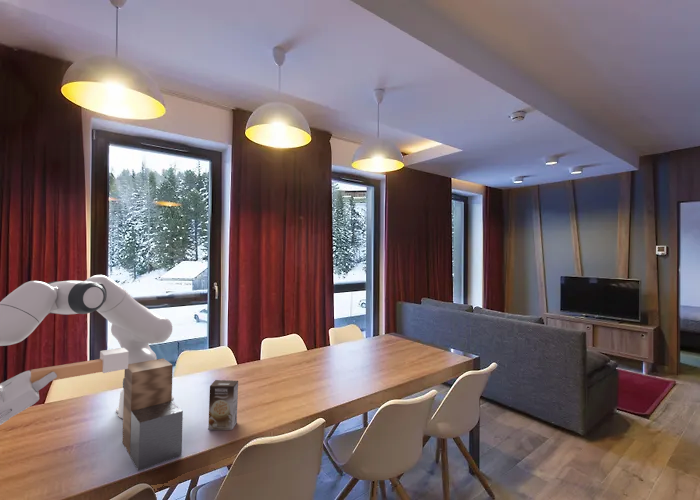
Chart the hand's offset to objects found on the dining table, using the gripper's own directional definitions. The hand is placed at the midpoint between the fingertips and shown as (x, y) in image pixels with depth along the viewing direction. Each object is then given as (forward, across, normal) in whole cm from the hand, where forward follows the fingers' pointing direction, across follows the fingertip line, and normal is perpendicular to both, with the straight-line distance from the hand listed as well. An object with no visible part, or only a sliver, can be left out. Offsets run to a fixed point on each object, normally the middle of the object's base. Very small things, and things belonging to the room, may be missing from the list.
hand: (55, 371), depth 92 cm
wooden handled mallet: (+4, 0, +5) cm, 6 cm away
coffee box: (+26, +4, +52) cm, 59 cm away
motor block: (+6, 0, +40) cm, 41 cm away
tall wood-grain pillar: (+6, +11, +40) cm, 42 cm away
